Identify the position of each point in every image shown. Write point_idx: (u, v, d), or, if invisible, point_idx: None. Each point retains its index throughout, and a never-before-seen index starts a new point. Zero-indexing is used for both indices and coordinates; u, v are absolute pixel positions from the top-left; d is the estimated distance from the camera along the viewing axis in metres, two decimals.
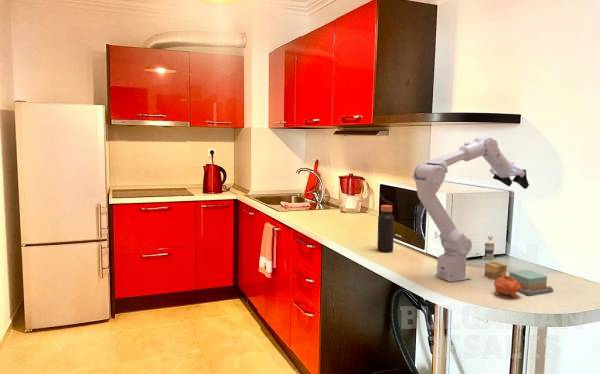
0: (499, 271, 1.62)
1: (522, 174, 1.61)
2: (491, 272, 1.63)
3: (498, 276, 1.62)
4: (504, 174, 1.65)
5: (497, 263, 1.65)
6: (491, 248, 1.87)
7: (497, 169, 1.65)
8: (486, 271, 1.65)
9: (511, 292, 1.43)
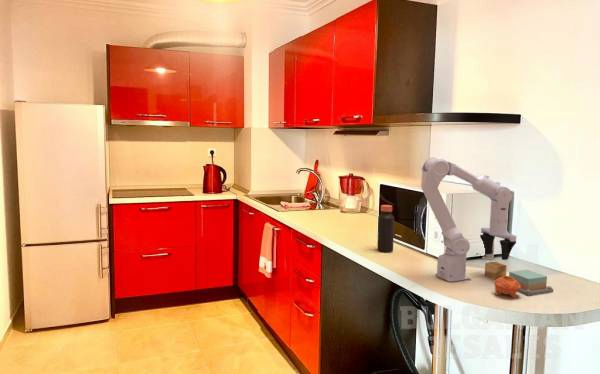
0: (499, 271, 1.62)
1: (513, 239, 1.56)
2: (491, 272, 1.63)
3: (498, 276, 1.62)
4: (496, 231, 1.60)
5: (497, 263, 1.65)
6: None
7: (494, 222, 1.60)
8: (486, 271, 1.65)
9: (511, 292, 1.43)
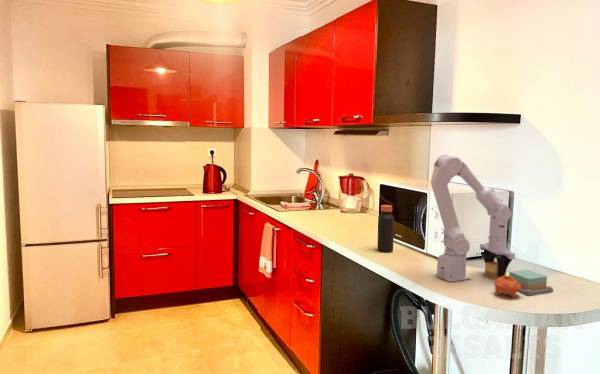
0: None
1: (512, 256, 1.57)
2: (491, 272, 1.63)
3: (498, 276, 1.62)
4: (495, 248, 1.61)
5: (497, 263, 1.65)
6: None
7: (493, 239, 1.61)
8: (486, 270, 1.65)
9: (511, 292, 1.43)
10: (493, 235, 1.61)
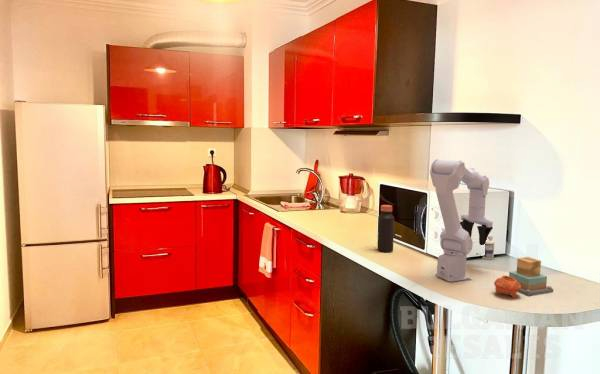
0: (533, 267, 1.49)
1: (489, 224, 1.66)
2: (524, 268, 1.51)
3: (532, 272, 1.50)
4: (474, 218, 1.70)
5: (530, 258, 1.53)
6: (491, 248, 1.87)
7: (472, 209, 1.70)
8: (519, 267, 1.53)
9: (511, 292, 1.43)
10: (478, 206, 1.69)
